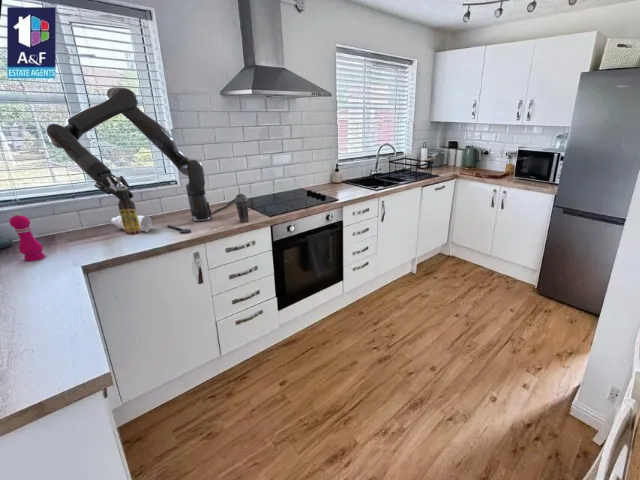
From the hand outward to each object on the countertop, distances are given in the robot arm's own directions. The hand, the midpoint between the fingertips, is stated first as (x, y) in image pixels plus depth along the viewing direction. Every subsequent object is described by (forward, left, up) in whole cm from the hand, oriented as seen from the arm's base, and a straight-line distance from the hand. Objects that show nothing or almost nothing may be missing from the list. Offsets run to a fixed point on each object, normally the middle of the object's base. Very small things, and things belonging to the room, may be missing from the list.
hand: (127, 198), depth 158 cm
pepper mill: (+31, -25, -24) cm, 46 cm away
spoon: (-26, -13, -24) cm, 37 cm away
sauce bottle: (0, -2, -16) cm, 16 cm away
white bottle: (-12, -31, -24) cm, 41 cm away
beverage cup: (-57, +1, -24) cm, 62 cm away
